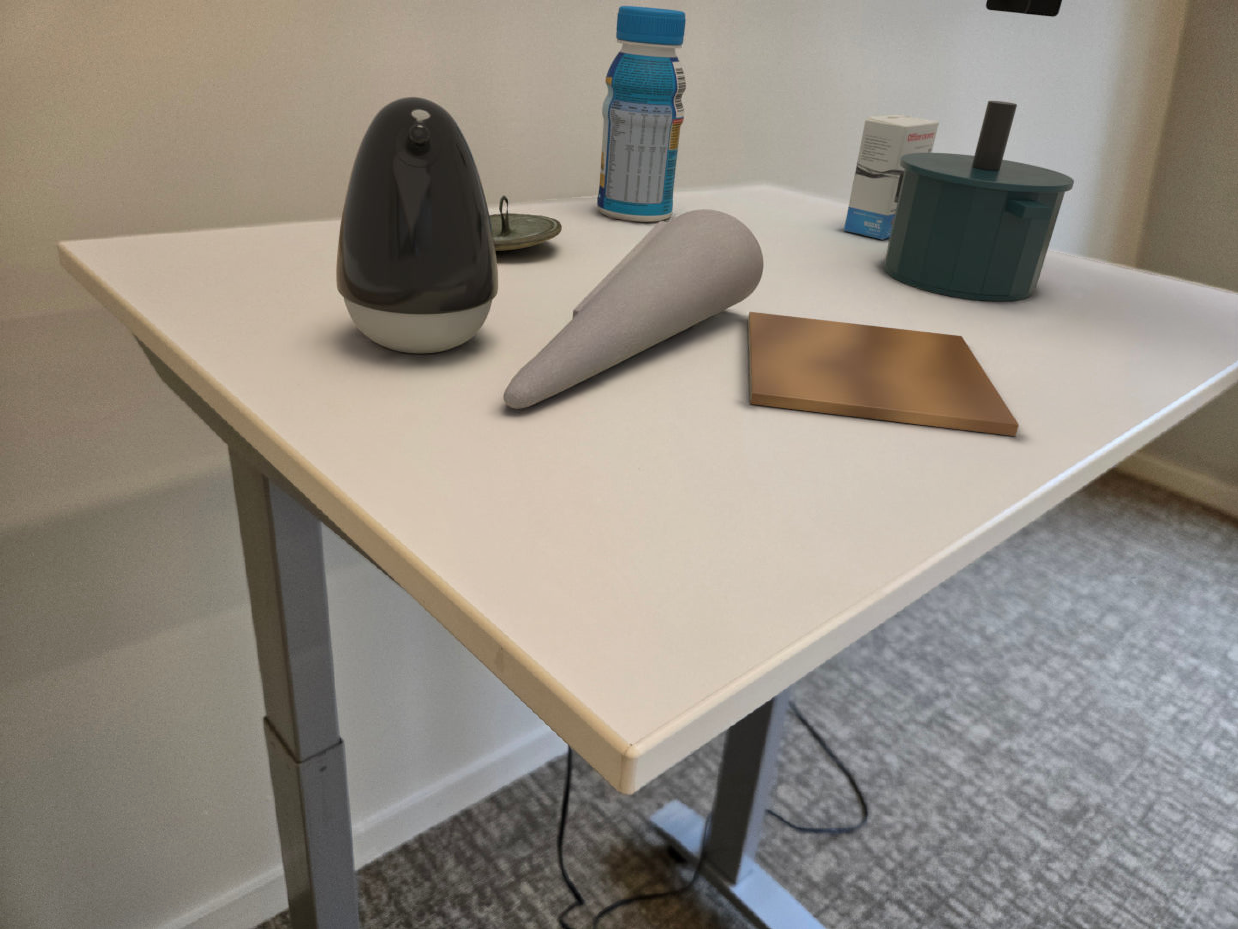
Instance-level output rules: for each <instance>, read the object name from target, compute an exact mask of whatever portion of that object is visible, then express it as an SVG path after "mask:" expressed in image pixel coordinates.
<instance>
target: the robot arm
mask: <svg viewBox="0 0 1238 929" xmlns="http://www.w3.org/2000/svg"><path fill="white" fill-rule="evenodd" d="M1062 3H1063V0H986V3H985V9H987V10H988V11H995V12H1002V13H1003V12H1004V13H1012V14H1013V13H1015V14H1023V15H1024V14H1025V15H1032V16H1042V17H1051V18H1053V17H1057V16H1058V15H1059V13H1060V10H1061V7H1062Z"/></svg>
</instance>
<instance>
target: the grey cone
mask: <svg viewBox="0 0 1238 929" xmlns="http://www.w3.org/2000/svg"><path fill="white" fill-rule="evenodd" d="M763 272H764V255H763V252H762V248H761V246H760V243H759V241H758V239H757V238H756V236H755V235H754V233H753V232H752V231H751V229H750V228H749V227H748V226H746V225H745V224H744V222H742V221H741V220H739V219H738V218H736V217H734V216H733V215H730V214H729V213H727V212H724V211H720V210H715V209H709V208H708V209H707V208H706V209H705V208H704V209H701V208H700V209H694V210H689V211H686V212H684V213H681V214H679V215H678V216H676V217H674V218H673V219H671V220H670V221H664V220H661V221H658V223H656V224H655V225H654V226H653V228H651V229H650V230H649V232H648V233H646V234H645V236H644V237H643V238H642V239H641V240H640V241H639V242H637V244H635V246H634V247H633V248H632V249H631V250H630V251H629V252H628V253H627V254H626V255H625V256H624V257H623V258H622V259H621V260H620V261H619V262H618V263H617V265H615V266H614V267H613V269H612V270H610V272H608V274H606V276H605V277H604V278H602V280H601V281H600V282H599V283H598V284H597V285H596V286H595V287H594V288H593V289H592V290H591V291H590V292H589V293H588V294H587V295H586V297H584V298H583V299H582V301H581V302H580V303H578V305H576V306H575V308H574V309H573V310H572V319H571V320H570V321H569V322H568V323H567V324H565V326H564V327H563V328H562V329H561V330H560V331H559V332H557V334H556V335H555V336H554V337H553V338H552V339H551V340H550V341H549V342H548V343H546V345H545V346H544V347H543V348H542V349H541V350H540V351H539V352H538V353H537V354H536V355H535V356H534V357H533V358H531V360H529V361H528V362H527V363H526V364H524V365H523V366H522V367H521V368H520V369H519V370H518V371H517V372H516V374H515V375H514V376H513V377H512V378H511V379H510V381H509V383H508V385H507V386H506V388H505V390H504V393H503V401H504V402H503V403H505V404H506V406H507V407H509V408H511V409H516V410H519V409H525V408H528V407H531V406H533V405H535V404H537V403H540V402H542V401H544V400H546V399H548V398H551V397H552V396H555V395H557V394H559V393H562V392H564V391H565V390H568V389H570V388H572V387H574V386H576V385H578V384H580V383H582V382H584V381H586V380H588V379H590V378H592V377H594V376H596V375H599V373H600V374H601V373H602V372H604V371H606V370H607V369H609V368H610V369H611V367H614V366H616V365H617V364H620V363H621V362H623V361H626V360H628V359H630V358H631V357H633V356H635V355H638V354H640V353H641V352H643V351H645V350H648V349H649V348H651V347H653V346H655V345H657V344H660V343H661V342H663V341H665V340H667V339H669V338H671V337H673V336H675V335H677V334H679V333H681V332H684V331H685V330H688V329H689V328H691V327H693V326H695V325H696V324H697V325H698V324H699V323H702V322H703V321H705V320H707V319H709V318H712V317H714V316H715V315H718V314H719V313H721V312H723V311H725V310H727V309H729V308H731V307H734V306H736V305H737V304H739V303H742V302H743V301H744V300H746V299H747V298H749V297H750V296H751V295H752V294H753V293H754V292H755V291H756V289H757V288H758V286H759V284H760V282H761V279H762V277H763Z"/></svg>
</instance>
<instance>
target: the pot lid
mask: <svg viewBox="0 0 1238 929" xmlns="http://www.w3.org/2000/svg"><path fill="white" fill-rule="evenodd" d="M986 104H987V105H986V108H985V111H984V116H983V119H982V120H983V121H982V124H981V127H980V132H979V136H978V140H977V144H976V148H975V152H974V155H972V154H971V155H970V154H962V153H947V152H932V153H912V154H906V155H903V156H902V157H901V161H900V165H901V167H903V168H904V169H906V170H908V171H910V172H913V173H916V174H919V175H922V176H925V177H929V178H933V179H937V180H941V181H946V182H950V183H955V184H961V185H966V186H973V187H979V188H986V189H993V190H1002V191H1012V192H1025V193H1060V192H1065V193H1066V192H1069V191H1071V190H1072V189H1073V188H1074V183H1075V180H1074V179H1073V178H1072V177H1071V176H1069V175H1067V174H1065V173H1062V172H1059V171H1056V170H1052V169H1049V168H1046V167H1042V166H1038V165H1034V164H1029V163H1023V162H1018V161H1013V160H1007V159H1004V156H1005V152H1006V148H1007V144H1008V141H1009V137H1010V133H1011V129H1012V126H1013V122H1014V118H1015V115H1016V110H1017V108H1018V104H1017V103H1015V102H1008V101H1000V100H988V101H987V103H986Z"/></svg>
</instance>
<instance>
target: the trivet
mask: <svg viewBox="0 0 1238 929" xmlns="http://www.w3.org/2000/svg"><path fill="white" fill-rule="evenodd" d="M747 336H748V365H749V395H750V396H749V398H750V404H751V405H755V406H764V407H770V408H771V407H772V408H778V409H779V408H780V409H790V410H796V411H805V412H813V413H814V412H815V413H821V414H829V415H836V416H837V415H838V416H846V417H854V418H861V419H862V418H863V419H873V420H877V421H886V422H896V423H904V424H912V425H920V426H928V427H937V428H944V429H954V430H961V431H962V430H963V431H968V432H976V433H977V432H979V433H988V434H993V435H994V434H996V435H1003V436H1010V437H1011V436H1012V437H1016V435H1017V432H1018V430H1019V426H1020V424H1019V423H1018V421H1017V420H1016V418H1015V416H1014V415H1013V413H1012V412H1011V410H1010V408H1009V407H1008V405H1007V403H1005V401H1004V400H1003V397H1002V396H1001V395H1000V393H999V392H998V390H997V389H996V387H995V385H994V384H993V382H992V381H991V379H990V378H989V376H988V375H987V373H986V372H985V369H984V368H983V366H982V365H981V363H980V362H979V361H978V359H977V358H976V356H975V355H974V353H973V351H972V350H971V348H970V347H969V345H968V344H967V341H966V340H965V339H964V337H963V336H962V335H956V334H949V333H938V332H930V331H923V330H922V331H921V330H915V329H914V330H913V329H904V328H896V327H895V328H894V327H886V326H878V325H871V324H862V323H861V324H860V323H851V322H845V321H844V322H843V321H834V320H827V319H826V320H825V319H816V318H807V317H799V316H791V315H781V314H774V313H765V312H757V311H749V312H748V319H747Z"/></svg>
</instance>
